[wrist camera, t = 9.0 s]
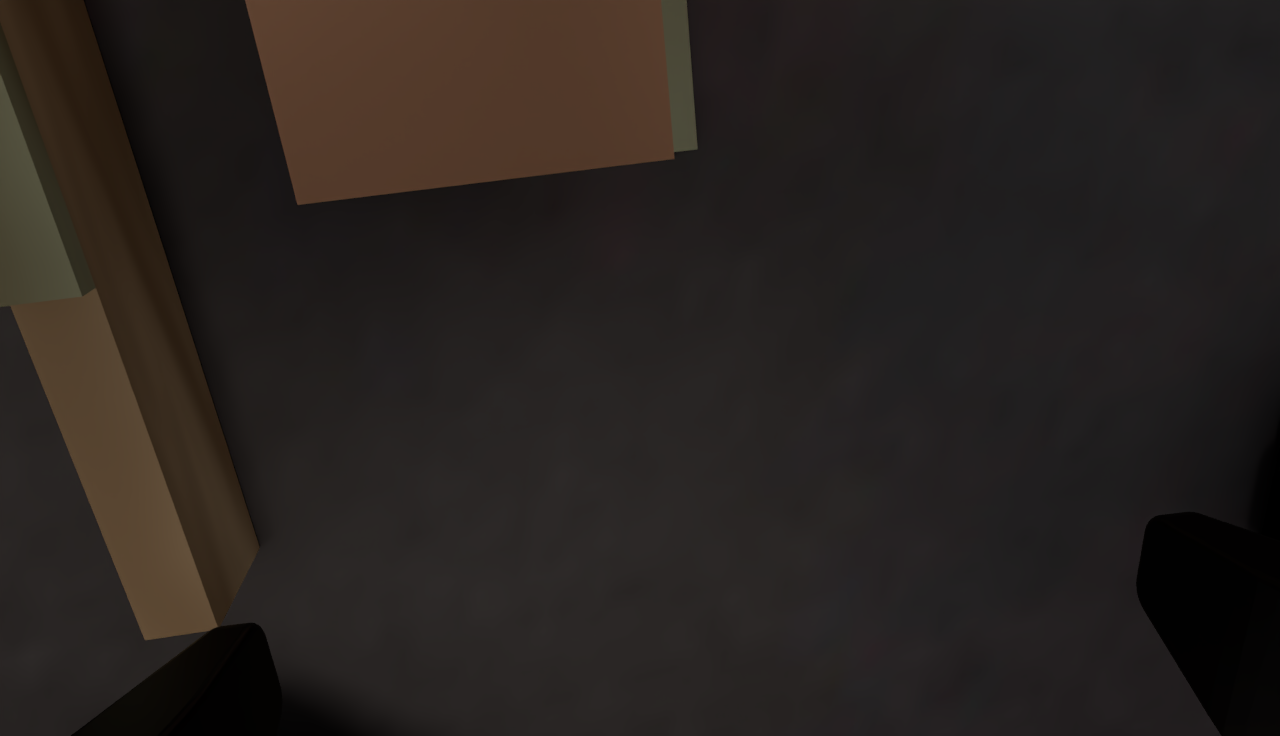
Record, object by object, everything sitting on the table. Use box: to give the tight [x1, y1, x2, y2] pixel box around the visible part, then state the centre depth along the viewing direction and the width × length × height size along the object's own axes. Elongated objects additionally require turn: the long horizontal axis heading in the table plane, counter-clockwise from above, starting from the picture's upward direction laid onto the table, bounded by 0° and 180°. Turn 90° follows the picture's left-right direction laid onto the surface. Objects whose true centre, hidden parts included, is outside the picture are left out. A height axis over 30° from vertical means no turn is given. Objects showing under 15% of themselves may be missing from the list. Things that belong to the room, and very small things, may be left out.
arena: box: [0, 0, 698, 640], centre depth 17 cm, size 20×17×4 cm
